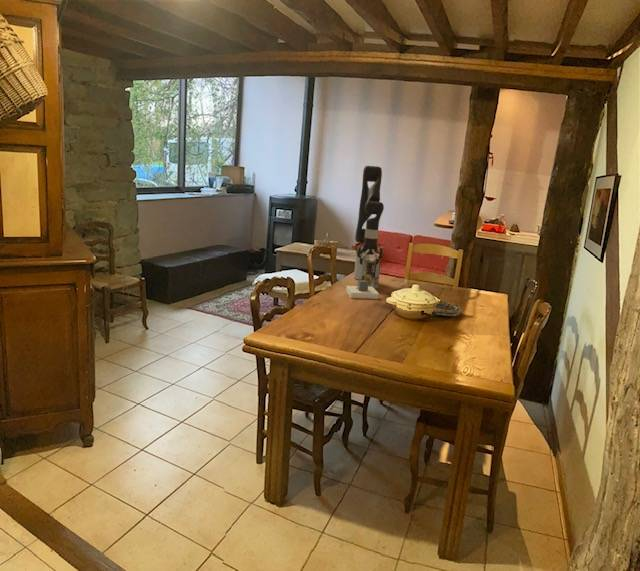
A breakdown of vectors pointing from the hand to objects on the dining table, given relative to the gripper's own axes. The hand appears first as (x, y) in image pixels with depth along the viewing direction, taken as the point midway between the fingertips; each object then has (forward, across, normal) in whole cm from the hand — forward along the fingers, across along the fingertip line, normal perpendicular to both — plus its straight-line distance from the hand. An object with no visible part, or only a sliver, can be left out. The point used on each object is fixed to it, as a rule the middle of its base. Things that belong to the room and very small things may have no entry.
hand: (368, 264), depth 278 cm
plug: (+17, +3, +2) cm, 18 cm away
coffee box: (+18, -6, -17) cm, 25 cm away
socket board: (+17, +3, +2) cm, 18 cm away
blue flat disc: (+18, -34, +33) cm, 51 cm away
